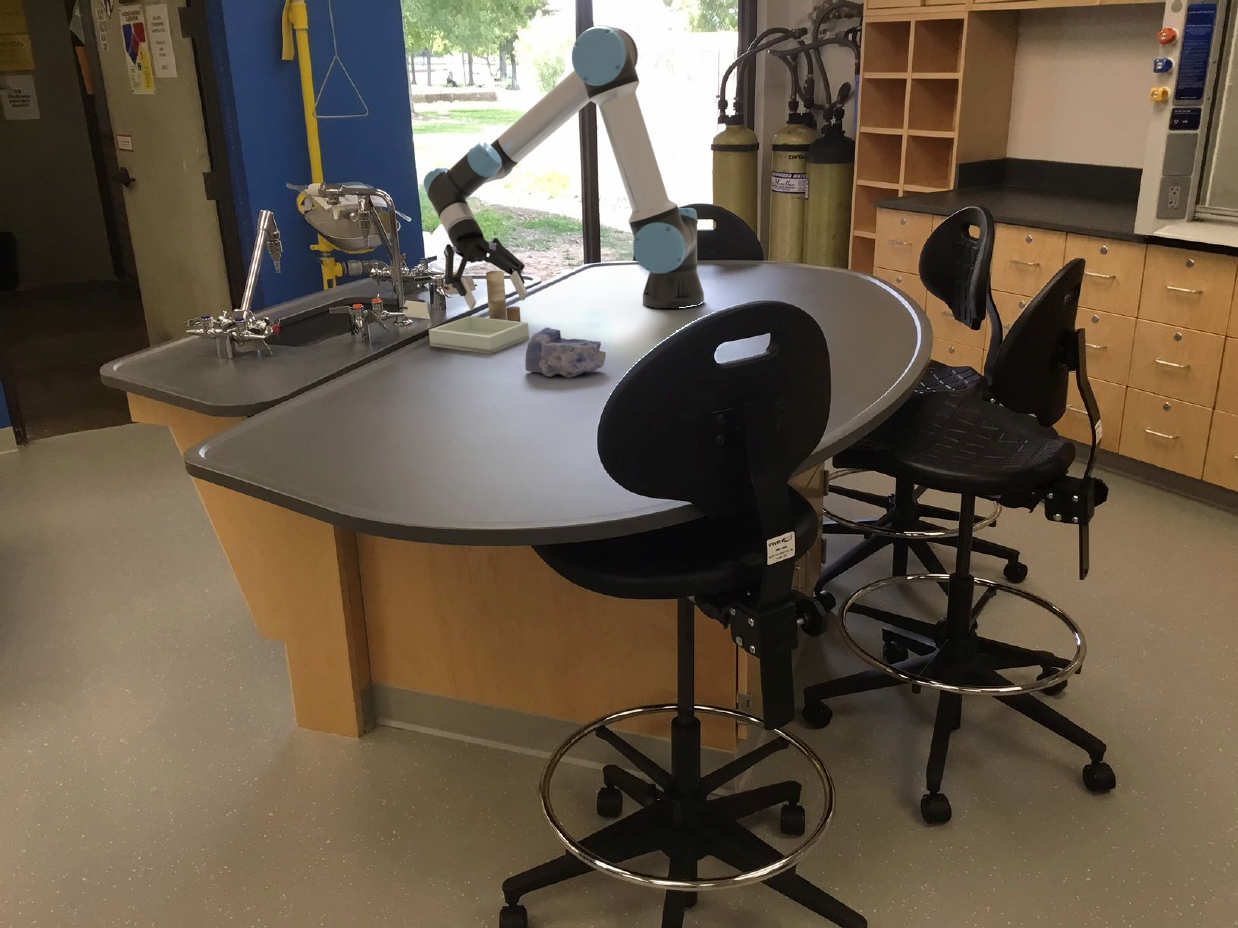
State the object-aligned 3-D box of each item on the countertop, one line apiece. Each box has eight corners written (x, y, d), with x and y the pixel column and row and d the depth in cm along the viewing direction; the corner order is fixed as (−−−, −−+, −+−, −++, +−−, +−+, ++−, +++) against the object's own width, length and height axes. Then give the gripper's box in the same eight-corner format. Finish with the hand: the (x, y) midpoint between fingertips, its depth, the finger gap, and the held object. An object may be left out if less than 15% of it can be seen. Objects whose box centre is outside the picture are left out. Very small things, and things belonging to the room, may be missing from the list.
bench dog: (523, 328, 229) (522, 307, 227) (516, 331, 226) (514, 309, 224) (512, 327, 230) (511, 305, 228) (505, 330, 228) (503, 308, 226)
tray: (529, 338, 220) (528, 322, 219) (490, 353, 209) (489, 337, 208) (470, 331, 228) (469, 316, 227) (430, 345, 217) (428, 329, 215)
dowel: (510, 323, 234) (507, 271, 230) (500, 327, 231) (496, 274, 226) (496, 321, 236) (492, 270, 232) (486, 325, 233) (482, 273, 228)
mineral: (520, 331, 189) (545, 316, 197) (520, 378, 193) (544, 362, 201) (590, 346, 184) (612, 330, 192) (588, 394, 188) (610, 376, 197)
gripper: (502, 232, 246) (539, 303, 240) (409, 244, 232) (446, 319, 226) (512, 212, 240) (551, 283, 234) (417, 223, 226) (455, 299, 220)
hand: (499, 301), depth 230 cm, fingers open, 13 cm apart
